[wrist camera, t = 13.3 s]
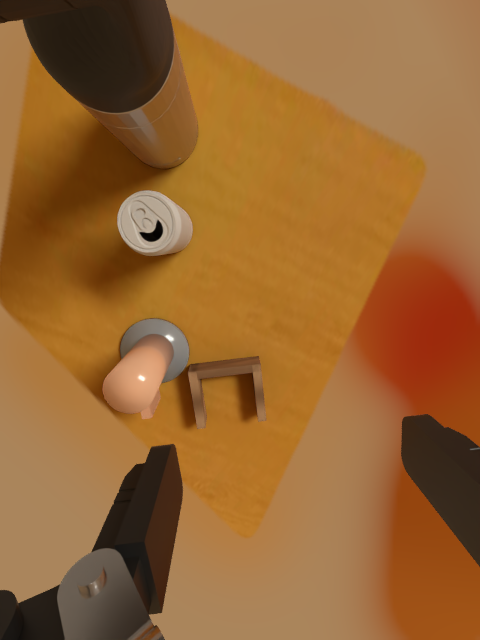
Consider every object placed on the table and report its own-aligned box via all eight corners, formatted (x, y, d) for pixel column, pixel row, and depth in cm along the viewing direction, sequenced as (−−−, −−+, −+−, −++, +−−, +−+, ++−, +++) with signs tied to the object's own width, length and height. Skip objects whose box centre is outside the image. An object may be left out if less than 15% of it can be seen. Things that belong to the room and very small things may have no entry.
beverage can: (164, 261, 42) (139, 269, 31) (136, 220, 41) (99, 211, 29) (202, 236, 42) (192, 234, 30) (175, 194, 40) (153, 174, 28)
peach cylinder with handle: (132, 336, 44) (97, 370, 32) (170, 331, 44) (149, 363, 32) (143, 389, 46) (114, 438, 34) (180, 384, 46) (163, 432, 35)
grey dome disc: (115, 322, 44) (113, 323, 43) (183, 314, 44) (183, 315, 43) (129, 385, 46) (127, 386, 46) (193, 377, 47) (193, 379, 46)
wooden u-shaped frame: (190, 364, 46) (187, 372, 43) (258, 356, 46) (260, 363, 43) (199, 417, 48) (197, 428, 45) (264, 409, 48) (266, 420, 45)
